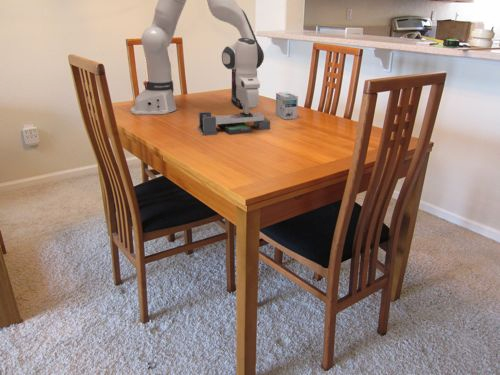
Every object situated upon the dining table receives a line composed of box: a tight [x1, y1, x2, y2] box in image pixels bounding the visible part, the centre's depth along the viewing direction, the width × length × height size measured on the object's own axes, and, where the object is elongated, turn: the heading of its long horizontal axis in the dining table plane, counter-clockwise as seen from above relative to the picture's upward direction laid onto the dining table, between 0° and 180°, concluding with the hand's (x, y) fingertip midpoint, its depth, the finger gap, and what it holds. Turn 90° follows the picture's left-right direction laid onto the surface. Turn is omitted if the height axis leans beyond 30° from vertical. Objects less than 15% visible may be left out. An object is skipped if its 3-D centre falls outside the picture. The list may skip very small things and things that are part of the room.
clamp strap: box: [209, 111, 265, 125], centre depth 176 cm, size 25×6×3 cm, turn 107°
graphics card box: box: [231, 69, 243, 109], centre depth 213 cm, size 17×7×27 cm, turn 17°
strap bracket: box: [197, 110, 271, 136], centre depth 177 cm, size 30×11×7 cm, turn 107°
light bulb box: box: [275, 91, 299, 120], centre depth 196 cm, size 11×7×11 cm, turn 22°
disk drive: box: [216, 122, 253, 136], centre depth 178 cm, size 10×3×15 cm
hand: (246, 113), depth 177 cm, fingers closed
